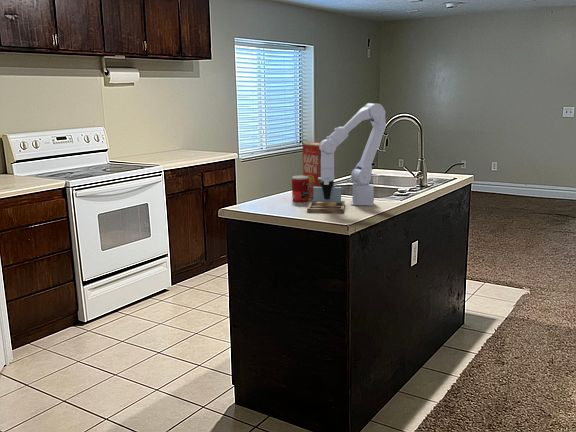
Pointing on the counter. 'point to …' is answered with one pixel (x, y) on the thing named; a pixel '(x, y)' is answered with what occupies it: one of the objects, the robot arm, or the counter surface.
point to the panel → (334, 195)
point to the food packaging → (312, 165)
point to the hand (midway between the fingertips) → (327, 198)
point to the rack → (326, 208)
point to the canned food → (300, 188)
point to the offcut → (325, 203)
